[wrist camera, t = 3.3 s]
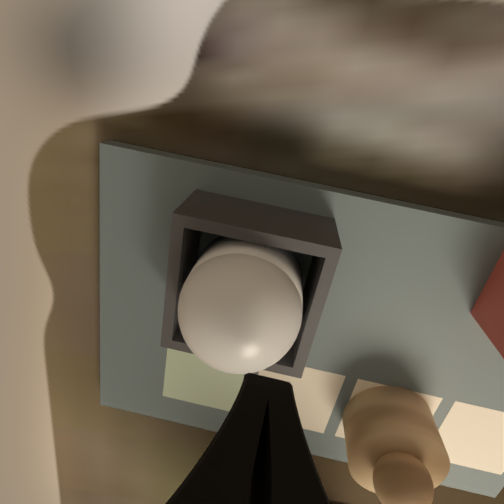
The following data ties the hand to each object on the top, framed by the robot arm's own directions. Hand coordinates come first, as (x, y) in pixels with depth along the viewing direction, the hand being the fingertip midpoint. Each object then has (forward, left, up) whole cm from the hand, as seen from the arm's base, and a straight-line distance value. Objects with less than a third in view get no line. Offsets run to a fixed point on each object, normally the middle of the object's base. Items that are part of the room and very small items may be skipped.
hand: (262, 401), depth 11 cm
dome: (0, +1, -7) cm, 7 cm away
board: (-4, -4, -9) cm, 11 cm away
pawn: (-8, -8, -8) cm, 14 cm away
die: (+2, -12, -8) cm, 14 cm away
